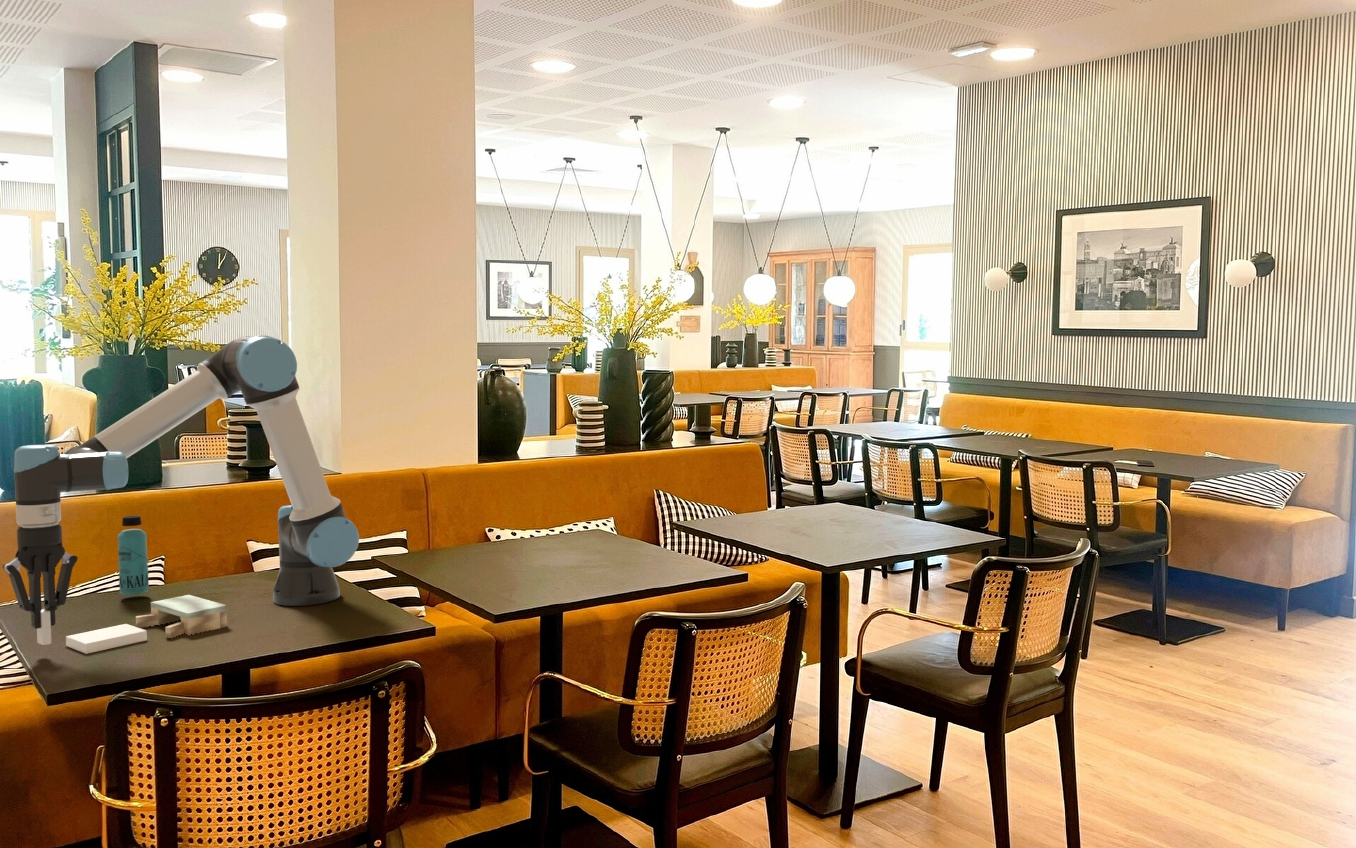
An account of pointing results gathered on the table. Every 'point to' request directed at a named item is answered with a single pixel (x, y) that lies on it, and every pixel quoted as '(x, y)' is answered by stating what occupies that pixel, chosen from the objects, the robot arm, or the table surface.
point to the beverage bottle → (132, 558)
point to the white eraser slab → (106, 638)
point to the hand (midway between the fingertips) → (44, 643)
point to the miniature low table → (185, 615)
